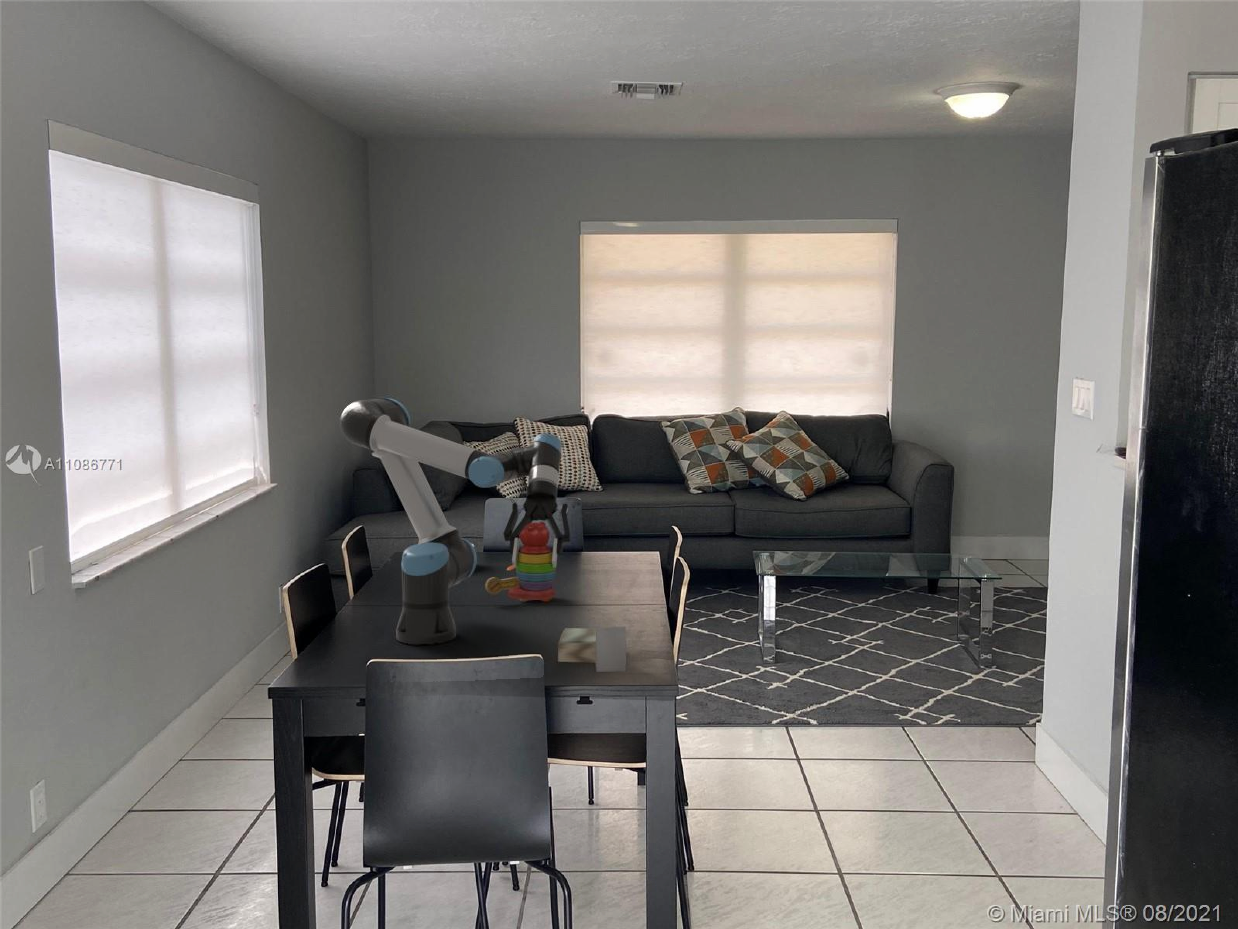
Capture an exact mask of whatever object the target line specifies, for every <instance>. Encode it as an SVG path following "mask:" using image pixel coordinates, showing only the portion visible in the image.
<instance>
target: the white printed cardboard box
mask: <svg viewBox="0 0 1238 929" xmlns="http://www.w3.org/2000/svg"><path fill="white" fill-rule="evenodd" d="M595 629H596V663H595V670H596V673H602V672H603V673H605V672H626V671H627V633H626V632H627V630H626V626H597V627H595Z"/></svg>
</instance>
